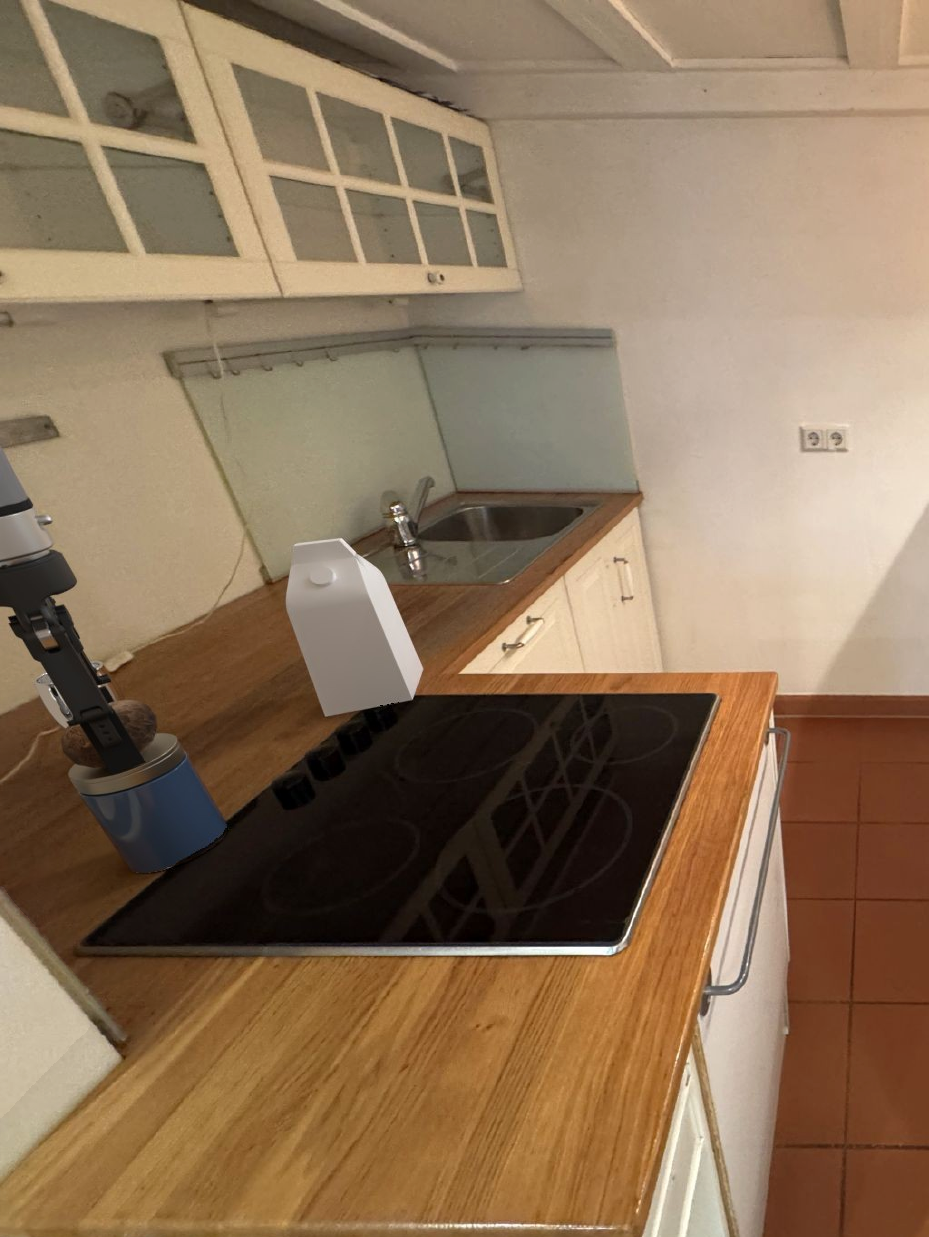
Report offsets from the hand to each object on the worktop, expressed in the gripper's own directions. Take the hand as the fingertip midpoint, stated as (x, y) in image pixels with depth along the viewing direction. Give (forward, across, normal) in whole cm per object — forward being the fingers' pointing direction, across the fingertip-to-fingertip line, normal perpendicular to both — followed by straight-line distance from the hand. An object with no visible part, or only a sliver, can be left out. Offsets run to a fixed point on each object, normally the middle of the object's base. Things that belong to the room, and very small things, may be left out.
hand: (123, 753), depth 77 cm
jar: (+14, 0, 0) cm, 14 cm away
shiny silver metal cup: (+14, +29, +2) cm, 32 cm away
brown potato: (0, 0, 0) cm, 0 cm away
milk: (+14, +23, -28) cm, 39 cm away
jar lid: (+1, 0, 0) cm, 1 cm away
